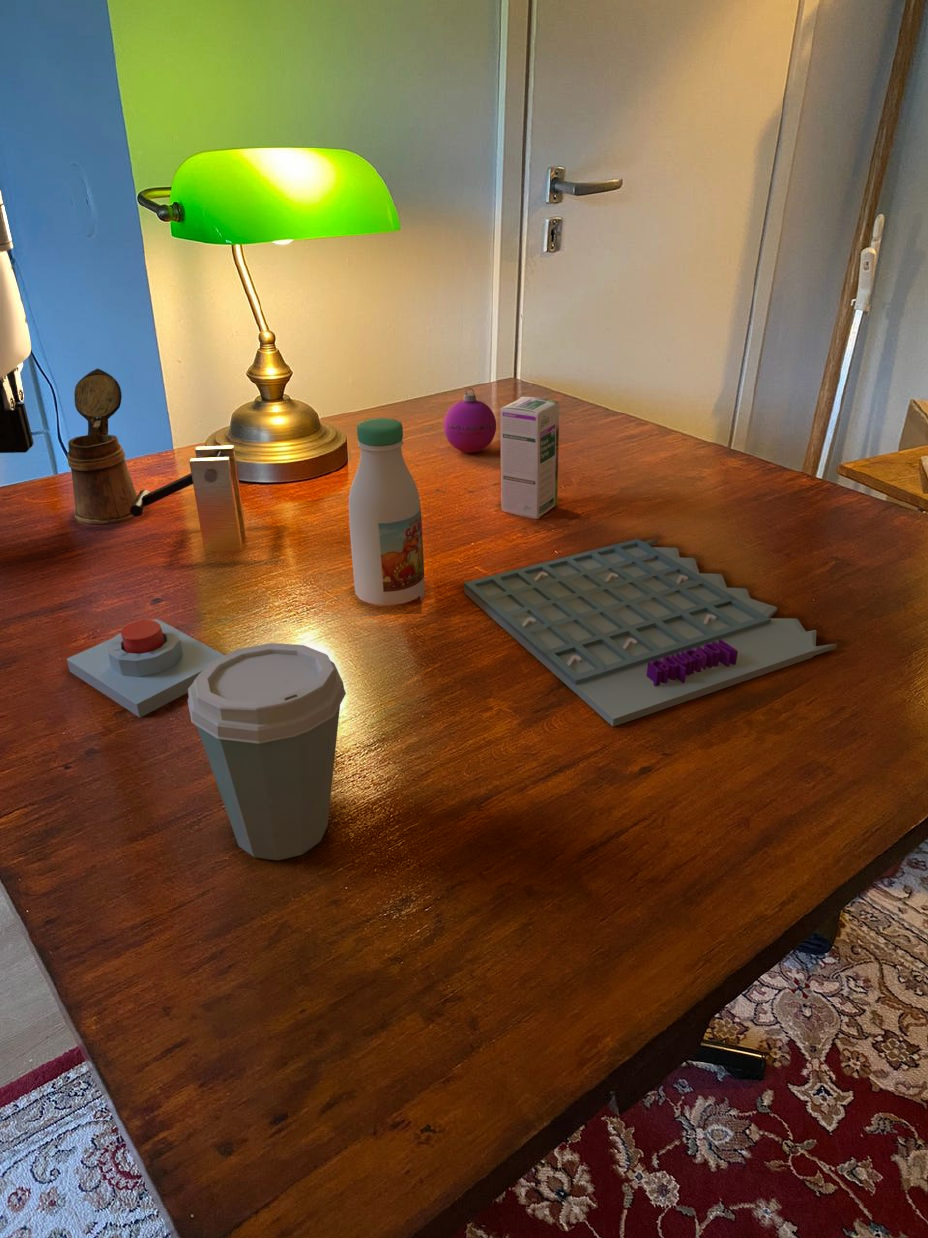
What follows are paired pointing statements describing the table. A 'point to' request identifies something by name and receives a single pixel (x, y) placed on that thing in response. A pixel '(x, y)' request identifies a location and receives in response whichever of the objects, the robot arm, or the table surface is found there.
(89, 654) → the control block
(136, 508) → the switch
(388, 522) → the milk bottle
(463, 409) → the christmas ornament
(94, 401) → the wooden mug
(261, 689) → the disposable coffee cup
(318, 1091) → the table surface
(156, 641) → the button
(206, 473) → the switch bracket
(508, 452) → the syrup box
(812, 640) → the calendar
